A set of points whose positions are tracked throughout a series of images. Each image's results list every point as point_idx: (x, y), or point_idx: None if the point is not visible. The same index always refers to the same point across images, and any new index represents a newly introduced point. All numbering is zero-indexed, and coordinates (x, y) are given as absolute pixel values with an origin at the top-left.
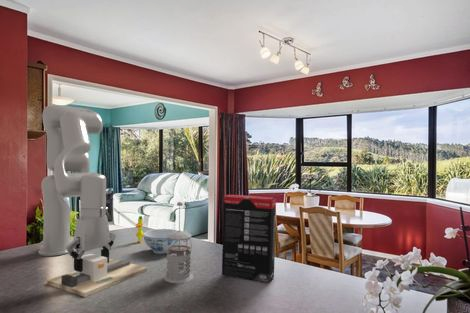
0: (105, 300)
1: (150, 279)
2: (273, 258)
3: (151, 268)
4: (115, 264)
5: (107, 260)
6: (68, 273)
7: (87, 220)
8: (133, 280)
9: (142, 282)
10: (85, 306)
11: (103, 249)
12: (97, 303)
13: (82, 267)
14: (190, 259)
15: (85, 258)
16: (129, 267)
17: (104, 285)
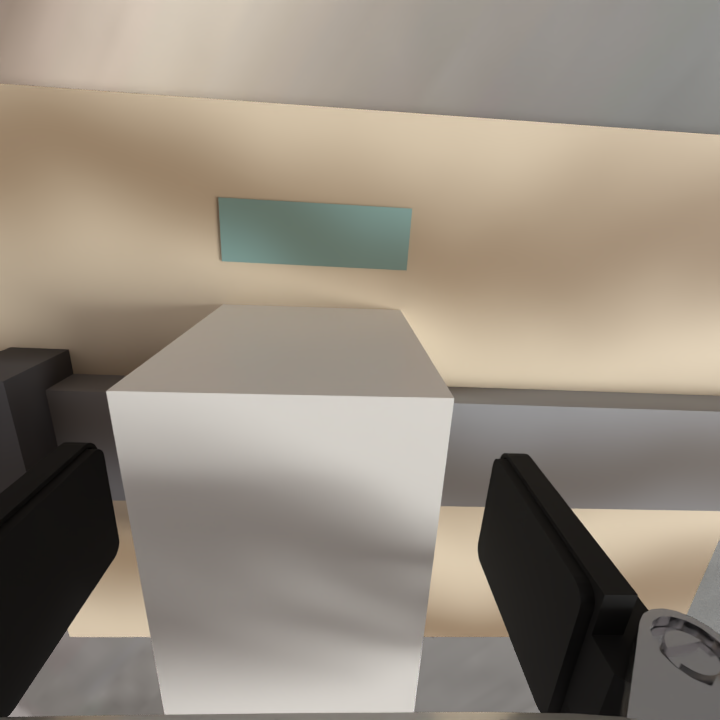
0: (148, 711)
1: (517, 707)
2: None
3: (716, 602)
4: (610, 467)
5: (492, 576)
6: (221, 120)
7: None
8: (459, 648)
9: (455, 702)
10: (27, 689)
11: (593, 657)
12: (95, 707)
13: (91, 587)
14: None
15: (188, 553)
16: (638, 536)
17: None
